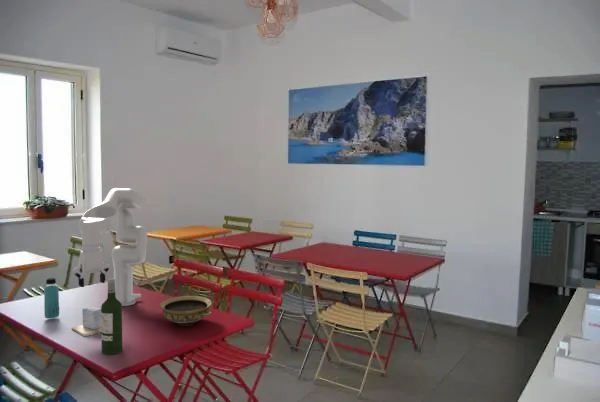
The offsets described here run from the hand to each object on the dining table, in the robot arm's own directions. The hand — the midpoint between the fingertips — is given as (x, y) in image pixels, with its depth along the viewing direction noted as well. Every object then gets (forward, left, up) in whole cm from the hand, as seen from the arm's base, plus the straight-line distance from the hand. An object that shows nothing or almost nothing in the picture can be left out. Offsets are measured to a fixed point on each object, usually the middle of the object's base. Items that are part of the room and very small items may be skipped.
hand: (92, 284), depth 221 cm
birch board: (+1, +1, -21) cm, 21 cm away
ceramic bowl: (-34, +24, -21) cm, 47 cm away
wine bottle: (+7, +31, -21) cm, 38 cm away
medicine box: (+1, +1, -20) cm, 20 cm away
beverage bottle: (+8, -26, -21) cm, 34 cm away
